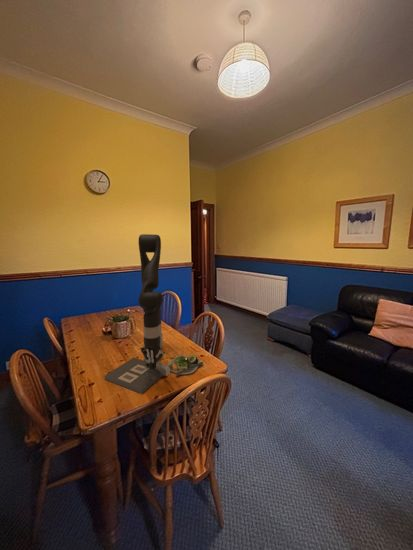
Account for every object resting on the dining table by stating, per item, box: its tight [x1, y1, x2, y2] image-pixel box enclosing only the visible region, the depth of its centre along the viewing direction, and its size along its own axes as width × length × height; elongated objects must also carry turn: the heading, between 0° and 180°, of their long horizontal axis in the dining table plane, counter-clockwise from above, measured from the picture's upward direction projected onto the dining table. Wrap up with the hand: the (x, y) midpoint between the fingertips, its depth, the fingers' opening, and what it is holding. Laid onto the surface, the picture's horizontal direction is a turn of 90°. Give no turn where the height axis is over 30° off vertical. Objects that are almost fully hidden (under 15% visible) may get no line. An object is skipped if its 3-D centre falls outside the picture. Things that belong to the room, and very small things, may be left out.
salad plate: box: [166, 354, 204, 377], centre depth 125 cm, size 19×18×5 cm
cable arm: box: [143, 354, 171, 376], centre depth 118 cm, size 21×4×3 cm, turn 45°
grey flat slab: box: [104, 357, 165, 395], centre depth 118 cm, size 20×24×4 cm
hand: (153, 368), depth 109 cm, fingers closed
